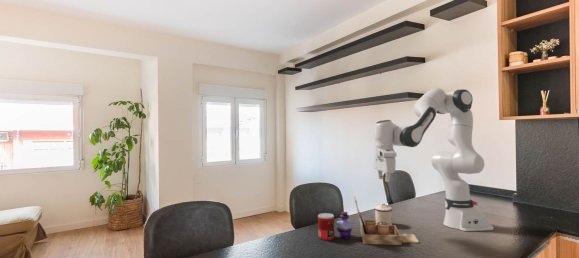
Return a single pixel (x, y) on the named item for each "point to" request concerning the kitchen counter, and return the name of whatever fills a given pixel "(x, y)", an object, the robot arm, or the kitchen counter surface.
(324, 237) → the canned food
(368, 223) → the pot far
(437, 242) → the kitchen counter surface
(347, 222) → the potion bottle
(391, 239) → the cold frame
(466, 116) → the robot arm
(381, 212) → the teacup with lid
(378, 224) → the pot near
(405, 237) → the cork mat
